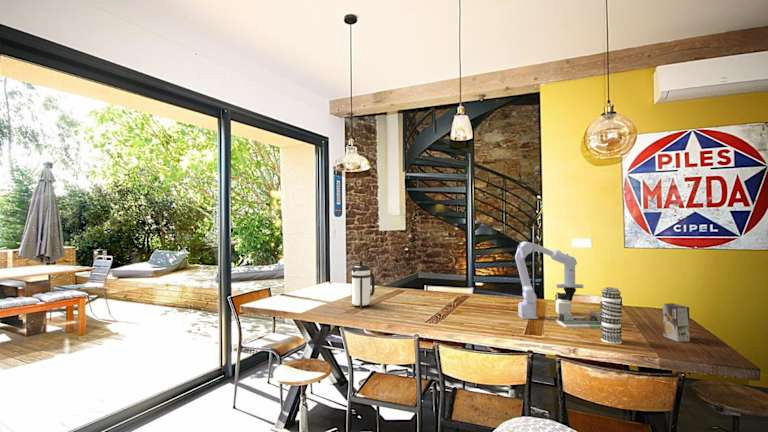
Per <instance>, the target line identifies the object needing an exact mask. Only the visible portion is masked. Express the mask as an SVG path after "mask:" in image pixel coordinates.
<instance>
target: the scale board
mask: <svg viewBox="0 0 768 432" xmlns="http://www.w3.org/2000/svg"><path fill="white" fill-rule="evenodd" d="M589 311H590V312H589V313H591V314H593V315H595V321H585V317H575V318H576V320H574V321H563V322H562V321H560V317H557V319H555V322H556V323H557V324H559V325H560V326H562V327H563V328H565V329H567V328H568V329H571V328H572V329H575V328H576V329H582V328H583V329H601V328H602V327H601V325H602V316H601V313H598V312H595V311H594V310H589Z"/></svg>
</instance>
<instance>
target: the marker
mask: <svg viewBox="0 0 768 432" xmlns="http://www.w3.org/2000/svg"><path fill="white" fill-rule="evenodd" d="M584 318H585V321H595V315H593V314H591V313H590V312H589V313H584Z"/></svg>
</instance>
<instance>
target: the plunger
mask: <svg viewBox="0 0 768 432" xmlns="http://www.w3.org/2000/svg"><path fill="white" fill-rule="evenodd" d="M559 318H560V321H562V322H563V321H574V320H576V318H577V317H575V316H574V314H573V313H572V312H571V313H560V314H559Z"/></svg>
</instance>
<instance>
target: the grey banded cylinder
mask: <svg viewBox="0 0 768 432" xmlns="http://www.w3.org/2000/svg"><path fill="white" fill-rule="evenodd" d="M621 293H622V292H621V291H620V290H619V289H618V288H616V287H610V286H607V287H603V289H602V290H601V301H600V302H599V304H600V305H599V307H601V308H602V309H601V311H600V315H601V316H602V325H601V327H602V328H600V340H601V342H603V343H607V344H612V345H620V344H622V340H623V339H622V337H623V335H622V333H623V332H622V330H623V328H622V324H621V319H622V317H623V316H622V315H621V314H622V313H623V311H622V310H623V307H622V306H623V305H624V304H623V300H622V298H621Z"/></svg>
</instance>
